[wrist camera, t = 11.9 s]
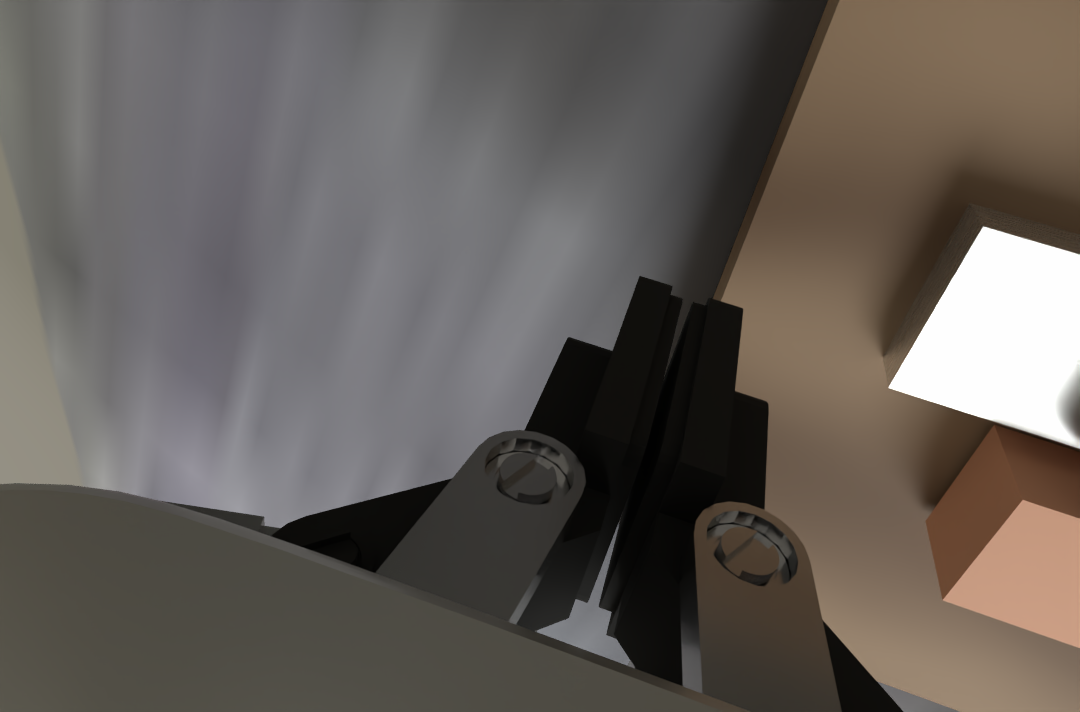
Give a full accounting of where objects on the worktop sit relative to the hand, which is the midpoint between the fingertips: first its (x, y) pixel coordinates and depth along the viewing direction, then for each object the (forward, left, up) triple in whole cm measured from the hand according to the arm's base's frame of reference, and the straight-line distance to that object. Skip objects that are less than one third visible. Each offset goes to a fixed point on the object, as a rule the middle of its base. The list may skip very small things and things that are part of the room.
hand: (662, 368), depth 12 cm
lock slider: (+2, +7, -2) cm, 8 cm away
